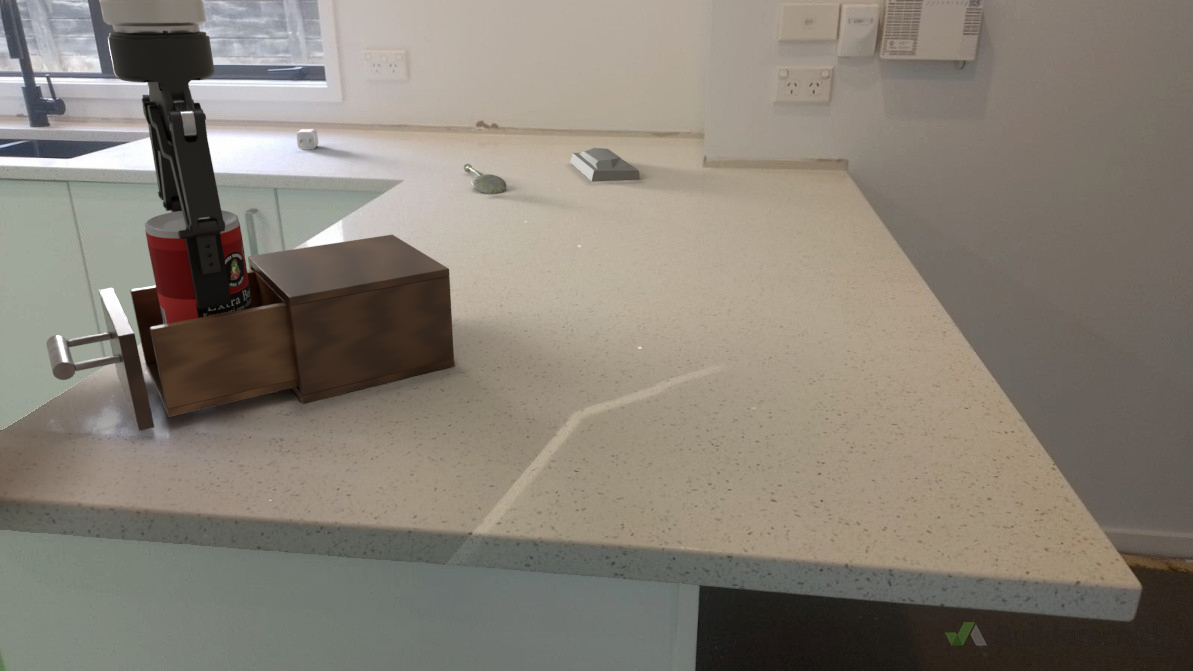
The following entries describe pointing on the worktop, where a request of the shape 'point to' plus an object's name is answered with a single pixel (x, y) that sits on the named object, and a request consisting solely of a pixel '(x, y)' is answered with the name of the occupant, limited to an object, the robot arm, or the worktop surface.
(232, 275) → the canned food
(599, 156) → the grey flat stepped block
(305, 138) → the usb wall charger
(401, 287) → the cabinet
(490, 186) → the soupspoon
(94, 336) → the drawer
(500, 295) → the worktop surface
